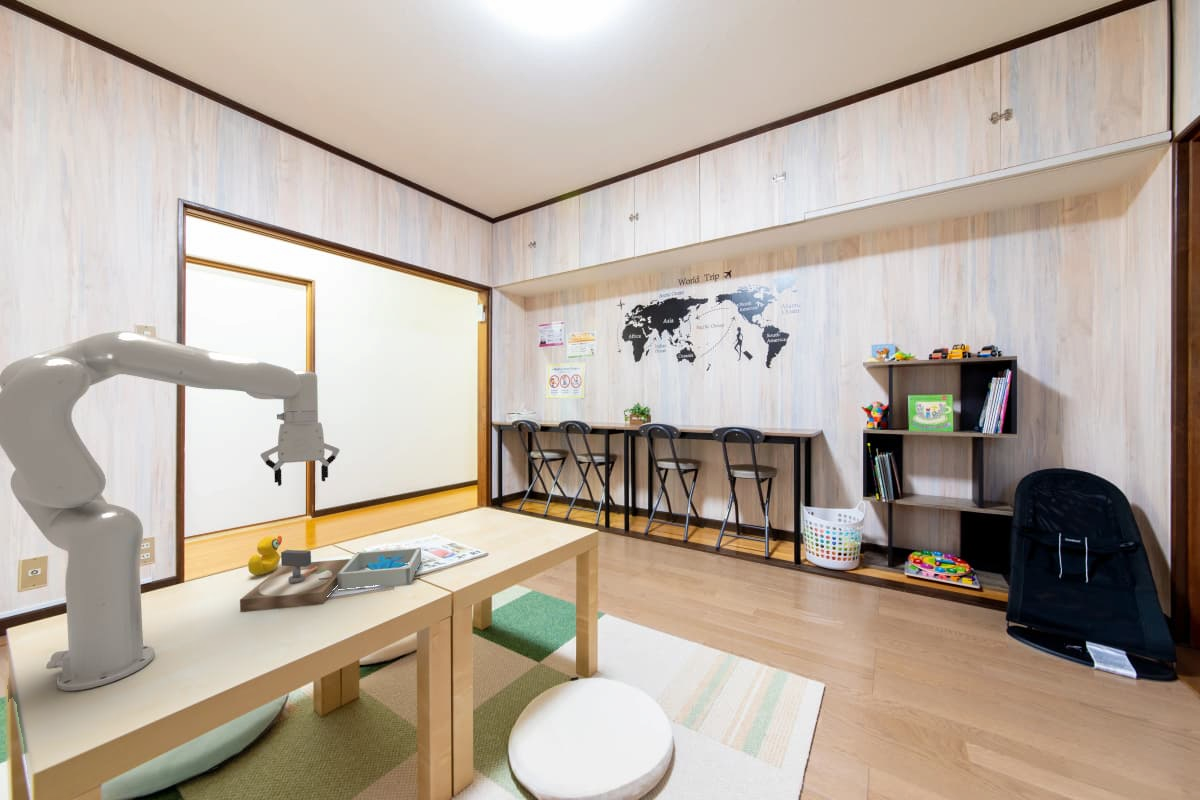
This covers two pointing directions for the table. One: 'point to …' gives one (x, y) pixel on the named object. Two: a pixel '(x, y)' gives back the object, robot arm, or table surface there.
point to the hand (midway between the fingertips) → (302, 482)
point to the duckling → (265, 556)
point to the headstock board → (294, 587)
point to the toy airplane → (386, 563)
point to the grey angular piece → (297, 563)
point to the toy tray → (382, 577)
